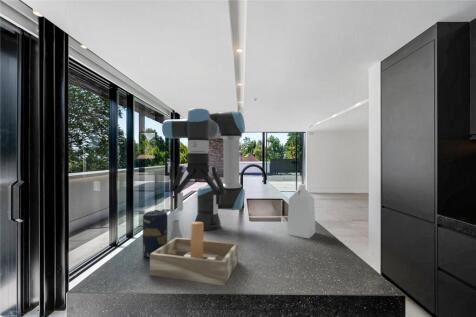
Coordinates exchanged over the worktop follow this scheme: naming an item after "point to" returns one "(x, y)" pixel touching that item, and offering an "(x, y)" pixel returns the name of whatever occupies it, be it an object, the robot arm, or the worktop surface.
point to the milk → (301, 214)
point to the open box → (195, 261)
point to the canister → (154, 231)
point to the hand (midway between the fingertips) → (197, 212)
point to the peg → (197, 240)
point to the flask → (174, 231)
